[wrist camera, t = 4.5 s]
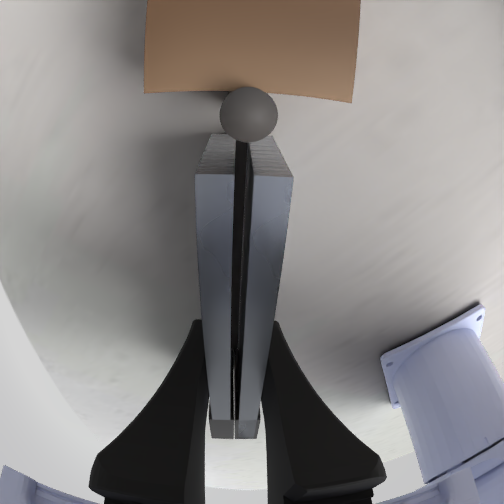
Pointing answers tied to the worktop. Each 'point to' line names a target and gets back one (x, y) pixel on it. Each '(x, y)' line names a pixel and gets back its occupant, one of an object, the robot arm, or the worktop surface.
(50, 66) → the worktop surface
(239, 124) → the block
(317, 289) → the worktop surface
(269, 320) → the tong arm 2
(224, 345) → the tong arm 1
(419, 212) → the worktop surface
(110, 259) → the worktop surface
